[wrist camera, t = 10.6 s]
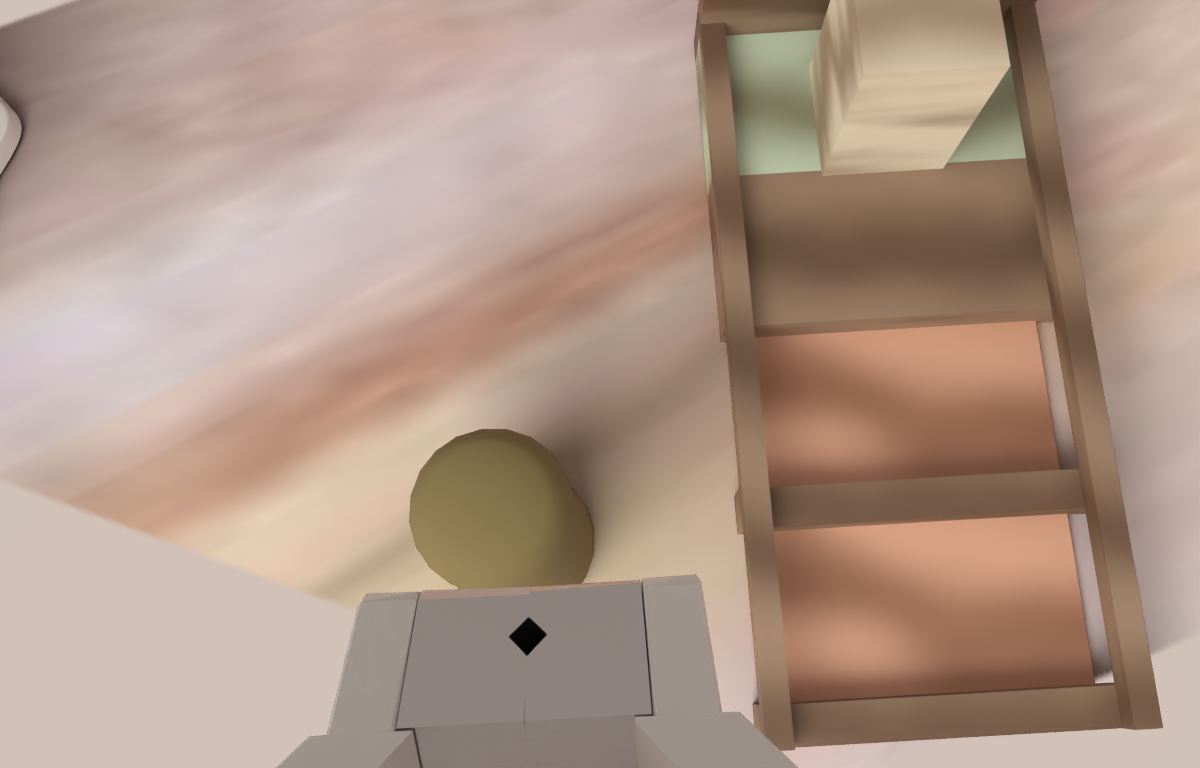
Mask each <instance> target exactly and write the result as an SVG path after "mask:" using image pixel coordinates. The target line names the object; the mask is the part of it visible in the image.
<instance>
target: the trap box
mask: <svg viewBox="0 0 1200 768" xmlns="http://www.w3.org/2000/svg"><path fill="white" fill-rule="evenodd" d="M999 1H1000V7H1001V13H1002V19H1003V25H1004V31H1005V37H1006V43H1007V49H1008V55H1009V60H1010V67H1009V69H1008V70H1007V72H1006V73H1005V75H1004V76H1003V78H1002V79H1001V81H1000V82H999V84H998V85H997V87H996V88H995V90H994V91H993V93H992V95H991V96H990V98H989V99H988V101H987V102H986V104H985V105H984V107H983V108H982V110H981V111H980V113H979V114H978V116H977V117H976V119H975V120H974V122H973V123H972V125H971V127H970V128H969V130H968V131H967V133H966V134H965V136H964V137H963V139H962V140H961V142H960V143H959V145H958V146H957V148H956V149H955V151H954V152H953V154H952V156H951V157H950V159H949V160H948V162H947V163H946V165H945V166H944V168H943V169H927V170H911V171H895V172H878V173H862V174H846V175H830V176H822V173H821V165H820V156H819V148H818V139H817V131H816V122H815V114H814V106H813V97H812V89H811V80H810V72H809V66H810V63H811V60H812V56H813V53H814V50H815V47H816V44H817V41H818V38H819V34H820V31H821V28H822V25H823V22H824V19H825V16H826V12H827V9H828V6H829V3H830V0H699V5H698V13H697V22H696V30H695V39H694V47H695V58H696V70H697V81H698V92H699V104H700V115H701V126H702V137H703V149H704V160H705V171H706V183H707V194H708V205H709V216H710V228H711V239H712V250H713V262H714V273H715V284H716V295H717V307H718V318H719V329H720V341H721V342H723V341H726V343H727V354H728V365H729V377H730V388H731V399H732V410H733V421H734V432H735V443H736V454H737V466H738V477H739V488H740V489H739V491H738V492H737V494H736V495H735V497H734V499H735V510H736V521H737V532H738V534H744V543H745V554H746V566H747V577H748V588H749V599H750V610H751V621H752V632H753V643H754V654H755V666H756V677H757V688H758V699H759V704H753V713H754V724H755V727H756V728H757V729H758V730H759V731H760V732H761V733H762V734H763V735H764V736H765V737H766V738H768V739H769V740H770V741H771V742H772V743H773V744H774V745H775V746H776V747H777V748H778V749H779V750H780V751H784V750H795V747H810V746H827V745H844V744H861V743H878V742H895V741H912V740H929V739H946V738H962V737H978V736H996V735H1012V734H1028V733H1029V734H1030V733H1047V732H1064V731H1079V730H1080V731H1081V730H1097V729H1114V728H1126V729H1133V730H1139V729H1155V728H1163V725H1162V719H1161V714H1160V708H1159V702H1158V696H1157V691H1156V685H1155V679H1154V674H1153V668H1152V663H1151V657H1150V651H1149V645H1148V640H1147V634H1146V628H1145V623H1144V617H1143V612H1142V606H1141V600H1140V595H1139V589H1138V583H1137V578H1136V572H1135V566H1134V561H1133V555H1132V550H1131V544H1130V538H1129V533H1128V527H1127V521H1126V516H1125V510H1124V504H1123V499H1122V493H1121V487H1120V482H1119V476H1118V471H1117V465H1116V459H1115V454H1114V448H1113V442H1112V437H1111V431H1110V425H1109V420H1108V414H1107V408H1106V403H1105V397H1104V392H1103V386H1102V380H1101V375H1100V369H1099V363H1098V358H1097V352H1096V346H1095V341H1094V335H1093V329H1092V324H1091V318H1090V313H1089V307H1088V301H1087V296H1086V290H1085V284H1084V279H1083V273H1082V267H1081V262H1080V256H1079V250H1078V245H1077V239H1076V234H1075V228H1074V222H1073V217H1072V211H1071V205H1070V200H1069V194H1068V188H1067V183H1066V177H1065V172H1064V166H1063V160H1062V155H1061V149H1060V143H1059V138H1058V132H1057V126H1056V121H1055V115H1054V109H1053V104H1052V98H1051V93H1050V87H1049V81H1048V76H1047V70H1046V64H1045V59H1044V53H1043V47H1042V42H1041V36H1040V30H1039V25H1038V19H1037V14H1036V8H1035V2H1036V1H1037V0H999ZM1037 322H1054V326H1055V332H1056V338H1057V344H1058V350H1059V356H1060V362H1061V368H1062V374H1063V380H1064V386H1065V392H1066V398H1067V404H1068V410H1069V415H1070V421H1071V427H1072V433H1073V439H1074V445H1075V451H1076V457H1077V463H1078V469H1067V470H1060V467H1059V460H1058V454H1057V448H1056V442H1055V436H1054V430H1053V424H1052V418H1051V412H1050V406H1049V399H1048V393H1047V387H1046V381H1045V375H1044V369H1043V363H1042V357H1041V351H1040V345H1039V339H1038V332H1037V326H1036V323H1037ZM1083 513H1086V516H1087V522H1088V528H1089V534H1090V540H1091V546H1092V552H1093V558H1094V564H1095V570H1096V576H1097V582H1098V588H1099V594H1100V600H1101V606H1102V611H1103V617H1104V623H1105V629H1106V635H1107V641H1108V647H1109V653H1110V659H1111V665H1112V671H1113V677H1114V683H1100V684H1095V680H1094V674H1093V668H1092V662H1091V655H1090V649H1089V643H1088V637H1087V631H1086V625H1085V619H1084V613H1083V607H1082V601H1081V595H1080V588H1079V582H1078V576H1077V570H1076V564H1075V558H1074V552H1073V546H1072V540H1071V534H1070V527H1069V521H1068V515H1067V514H1083Z"/></svg>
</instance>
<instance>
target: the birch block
mask: <svg viewBox="0 0 1200 768" xmlns="http://www.w3.org/2000/svg"><path fill="white" fill-rule="evenodd" d="M1009 67H1010V60H1009V55H1008V49H1007V43H1006V37H1005V31H1004V25H1003V19H1002V13H1001V7H1000V1H999V0H830V3H829V6H828V9H827V12H826V16H825V19H824V22H823V25H822V28H821V31H820V34H819V38H818V41H817V44H816V47H815V50H814V53H813V56H812V60H811V63H810V66H809V72H810V80H811V89H812V97H813V106H814V114H815V122H816V131H817V139H818V148H819V156H820V165H821V173H822V176H830V175H846V174H862V173H878V172H895V171H911V170H927V169H943V168H944V166H945V165H946V163H947V162H948V160H949V159H950V157H951V156H952V154H953V152H954V151H955V149H956V148H957V146H958V145H959V143H960V142H961V140H962V139H963V137H964V136H965V134H966V133H967V131H968V130H969V128H970V127H971V125H972V123H973V122H974V120H975V119H976V117H977V116H978V114H979V113H980V111H981V110H982V108H983V107H984V105H985V104H986V102H987V101H988V99H989V98H990V96H991V95H992V93H993V91H994V90H995V88H996V87H997V85H998V84H999V82H1000V81H1001V79H1002V78H1003V76H1004V75H1005V73H1006V72H1007V70H1008V69H1009Z"/></svg>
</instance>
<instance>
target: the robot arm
mask: <svg viewBox="0 0 1200 768" xmlns="http://www.w3.org/2000/svg"><path fill="white" fill-rule="evenodd" d="M21 131H22V126H21V122H20V119H19V117H18V116H17V114H16V113H15V112H14V111H13V110H12V109H11V107H10V106H9V105H8V104H7V103H6V102H5V101H4V100H3V99H2V98H1V97H0V174H1V173H2V171H3V169H4V168H5V166H6V164H7V163H8V161H9V160H10V158H11V156H12V154H13V152H14V151H15V149H16V147H17V144H18V142H19V139H20V136H21ZM277 768H798V767H797V766H796V765H795V764H794V763H793V762H792V761H791V760H790V759H789V758H788V757H786V756H785V755H784V754H783V753H782V752H781V751H780V750H779V749H778V748H777V747H776V746H775V745H774V744H773V743H772V742H771V741H770V740H769V739H768V738H766V737H765V736H764V735H763V734H762V733H761V732H760V731H759V730H758V729H757V728H756V727H755V726H754V725H753V724H752V723H751V722H750V721H749V720H748V719H746V718H745V717H744V716H743V715H742V714H741V713H740V712H723V713H722V708H721V702H720V696H719V690H718V684H717V678H716V671H715V665H714V659H713V653H712V647H711V640H710V634H709V628H708V622H707V616H706V609H705V603H704V597H703V591H702V585H701V581H700V579H699V578H698V577H697V575H696V574H695V575H682V576H669V577H657V578H644V579H642V583H641V582H640V580H630V581H615V582H599V583H584V584H568V585H553V586H537V587H513V588H484V589H456V590H427V591H422V592H400V593H371V594H366V595H365V596H364V598H363V599H362V601H361V602H360V604H359V605H358V608H357V612H356V616H355V620H354V624H353V628H352V632H351V636H350V640H349V644H348V649H347V653H346V657H345V661H344V665H343V669H342V673H341V677H340V681H339V685H338V689H337V694H336V698H335V702H334V706H333V710H332V714H331V718H330V722H329V726H328V731H327V734H326V735H322V736H310V737H308V738H307V739H306V740H305V741H304V742H303V743H302V744H301V745H300V746H299V747H297V748H296V749H295V750H294V751H293V752H292V753H291V754H290V755H289V756H288V757H287V758H286V759H285V760H284V761H283V762H282V763H281V764H280V765H279V766H278V767H277Z"/></svg>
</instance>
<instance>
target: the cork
mask: <svg viewBox="0 0 1200 768" xmlns="http://www.w3.org/2000/svg"><path fill="white" fill-rule="evenodd" d="M409 523H410V526H411V530H412V534H413V537H414V541H415V545H416V547H417V549H418V550H419V552H420V553H421V555H422V556H423V558H424V559H425V561H426V562H427V564H428V565H429V567H430V568H431V569H432V570H433V571H435V572H436V573H437V574H438V575H440V576H441V577H442V578H444V579H445V580H446V581H448V582H449V583H450V584H452V585H455V586H457V587H458V589H484V588H513V587H537V586H553V585H568V584H581V583H582V581H583V580H584V579H585V577H586V575H587V572H588V569H589V566H590V563H591V560H592V557H593V547H594V530H593V526H592V523H591V520H590V517H589V514H588V510H587V507H586V506H585V505H584V503H583V502H582V500H581V499H580V498H579V496H578V495H577V493H576V492H575V491H574V489H573V488H572V487H570V485H569V481H568V478H567V475H566V472H565V471H564V469H563V468H562V467H561V465H560V464H559V462H558V461H557V460H556V458H555V457H554V455H553V454H552V453H551V452H550V451H549V450H548V449H546V448H545V447H543V446H542V445H541V444H539V443H538V442H537V441H535V440H534V439H533V438H531V437H529V436H526V435H522V434H519V433H516V432H513V431H510V430H507V429H481V430H477V431H474V432H471V433H468V434H464V435H461V436H458V437H456V438H454V439H453V440H451V441H450V442H448V443H447V444H445V445H444V446H443V447H441V448H440V449H438V450H437V451H435V453H434V454H433V455H432V457H431V458H430V459H429V460H428V462H427V463H426V464H425V465H424V467H423V468H422V469H421V471H420V473H419V475H418V478H417V481H416V483H415V486H414V488H413V491H412V494H411V499H410V517H409Z"/></svg>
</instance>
